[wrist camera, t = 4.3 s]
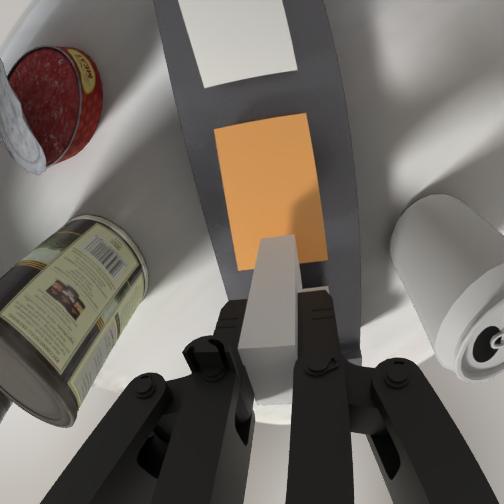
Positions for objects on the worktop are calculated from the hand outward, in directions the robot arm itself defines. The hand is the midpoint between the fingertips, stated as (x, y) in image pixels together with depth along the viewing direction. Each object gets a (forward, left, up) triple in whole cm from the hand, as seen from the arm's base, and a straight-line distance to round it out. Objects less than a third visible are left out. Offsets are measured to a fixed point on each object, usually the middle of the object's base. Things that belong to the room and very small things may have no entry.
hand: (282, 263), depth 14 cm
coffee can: (-17, -3, -8) cm, 19 cm away
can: (+11, -4, -8) cm, 14 cm away
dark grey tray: (0, +2, -8) cm, 9 cm away
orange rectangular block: (0, +2, -3) cm, 4 cm away
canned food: (-16, +12, -9) cm, 22 cm away
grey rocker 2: (0, +12, -3) cm, 12 cm away
